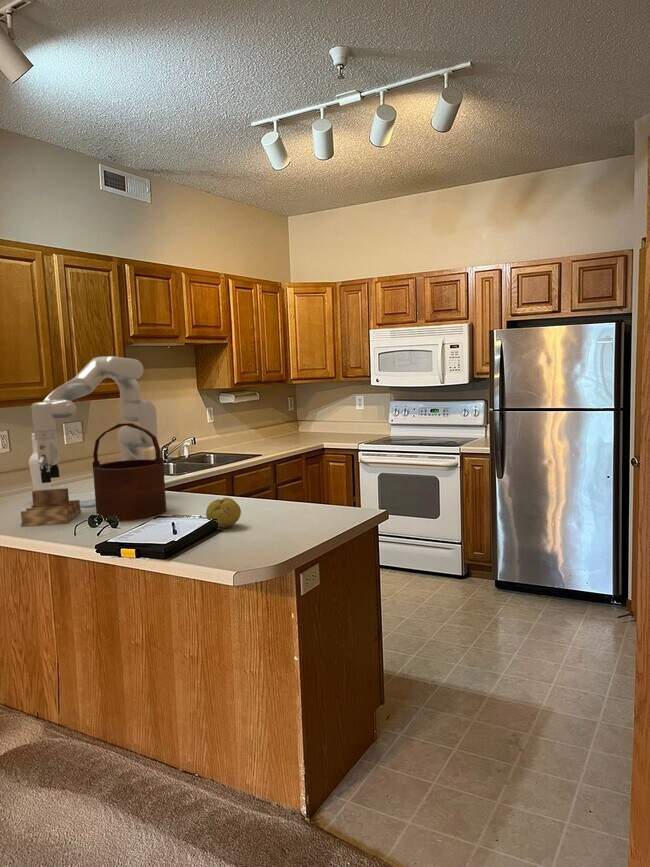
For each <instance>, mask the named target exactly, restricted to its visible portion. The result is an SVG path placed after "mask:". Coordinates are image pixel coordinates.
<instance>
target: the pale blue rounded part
mask: <svg viewBox="0 0 650 867" xmlns="http://www.w3.org/2000/svg"><path fill="white" fill-rule="evenodd" d="M88 508H89V509H90V508H96V501H95V498H94V499H93V498H92V499H86V500H82V501H80V509H88Z"/></svg>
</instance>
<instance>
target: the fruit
mask: <svg viewBox="0 0 650 867" xmlns="http://www.w3.org/2000/svg"><path fill="white" fill-rule="evenodd" d="M205 512H206V513H205V516H206V519H207V521H208V520H211V519H217V520H214V521H216V522H217V523H218V526H217V527H219V528H224V529H227V528H229V527H232V526H233V525H235V524H237V522H238V521H239V519H240V518H241V516H242V515H241V514H242V509H241V507H240V505H239V504H238V503H237V502H236V501H235V500H234V499H232V498H230V497H224V498H222V499H220V498H218V499H214V500H213V501H211V502H210V503H209V505H208V506H207V508H206V511H205Z"/></svg>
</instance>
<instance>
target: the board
mask: <svg viewBox="0 0 650 867" xmlns="http://www.w3.org/2000/svg"><path fill="white" fill-rule="evenodd" d="M31 494H32V505H33V508H39V507H55V506H69V501H70V500H69V499H70V498H69V488H67V487H66V488H65V487H63V488H51V489H46V490H34V491H33V490H32V491H31Z"/></svg>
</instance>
